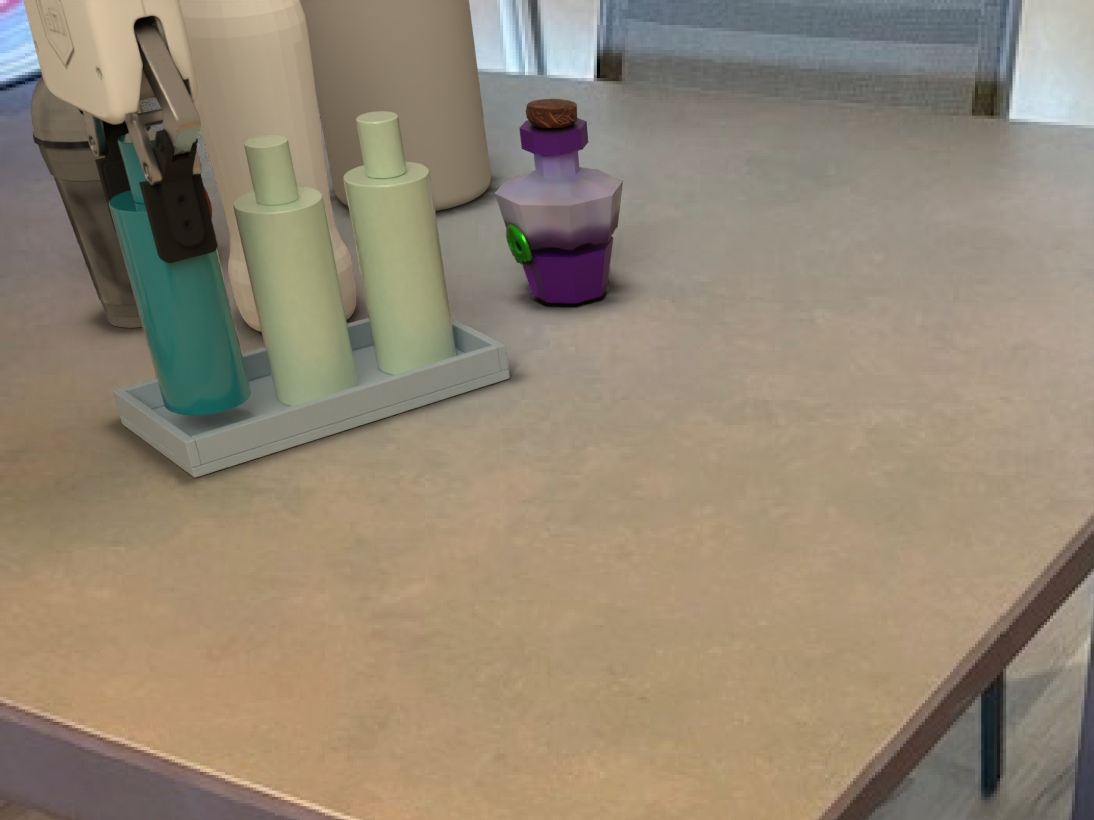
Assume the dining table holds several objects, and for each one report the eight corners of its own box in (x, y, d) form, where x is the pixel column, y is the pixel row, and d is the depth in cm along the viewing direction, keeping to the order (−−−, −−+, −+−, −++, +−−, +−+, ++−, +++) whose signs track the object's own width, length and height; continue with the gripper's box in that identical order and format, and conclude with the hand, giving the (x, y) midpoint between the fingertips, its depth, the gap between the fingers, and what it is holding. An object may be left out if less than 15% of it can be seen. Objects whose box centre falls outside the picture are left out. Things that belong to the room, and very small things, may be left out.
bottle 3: (402, 383, 101) (359, 133, 91) (362, 360, 104) (317, 116, 94) (472, 362, 103) (437, 116, 94) (430, 340, 106) (393, 100, 97)
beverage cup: (195, 328, 111) (110, -16, 97) (84, 340, 109) (-19, -5, 96) (196, 292, 116) (114, -38, 102) (89, 303, 115) (-7, -29, 101)
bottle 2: (299, 414, 98) (244, 159, 88) (261, 390, 100) (204, 141, 91) (373, 392, 100) (327, 140, 90) (334, 369, 103) (285, 123, 93)
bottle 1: (384, 305, 113) (290, -240, 93) (310, 346, 107) (192, -222, 87) (292, 289, 116) (180, -242, 95) (215, 328, 110) (80, -225, 90)
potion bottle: (482, 303, 113) (455, 109, 104) (557, 264, 118) (537, 78, 110) (583, 324, 109) (564, 125, 101) (656, 283, 114) (643, 92, 106)
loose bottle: (186, 423, 93) (114, 156, 84) (149, 397, 96) (76, 137, 87) (265, 398, 96) (204, 136, 86) (228, 375, 99) (165, 118, 89)
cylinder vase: (479, 163, 137) (432, -205, 121) (504, 206, 128) (456, -185, 112) (329, 180, 135) (259, -193, 118) (343, 225, 126) (270, -172, 109)
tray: (194, 478, 93) (185, 442, 91) (121, 424, 99) (111, 389, 97) (510, 378, 102) (506, 344, 101) (426, 335, 108) (421, 302, 107)
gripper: (-75, -163, 81) (43, 224, 94) (55, -130, 71) (168, 300, 84) (71, -181, 85) (166, 195, 97) (214, -151, 75) (300, 265, 87)
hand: (166, 240), depth 90 cm, fingers closed on loose bottle, 5 cm apart
